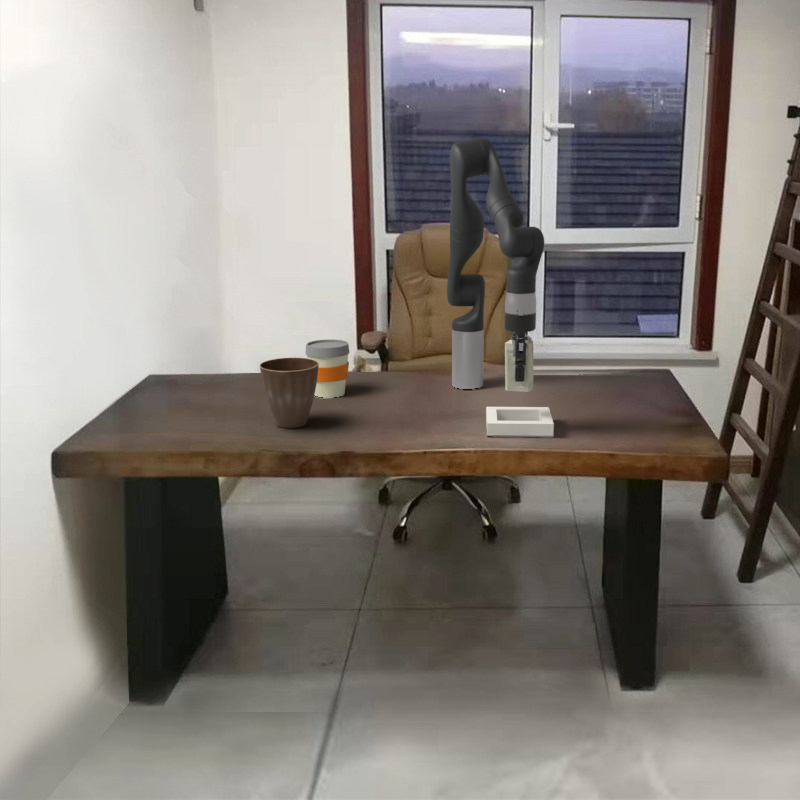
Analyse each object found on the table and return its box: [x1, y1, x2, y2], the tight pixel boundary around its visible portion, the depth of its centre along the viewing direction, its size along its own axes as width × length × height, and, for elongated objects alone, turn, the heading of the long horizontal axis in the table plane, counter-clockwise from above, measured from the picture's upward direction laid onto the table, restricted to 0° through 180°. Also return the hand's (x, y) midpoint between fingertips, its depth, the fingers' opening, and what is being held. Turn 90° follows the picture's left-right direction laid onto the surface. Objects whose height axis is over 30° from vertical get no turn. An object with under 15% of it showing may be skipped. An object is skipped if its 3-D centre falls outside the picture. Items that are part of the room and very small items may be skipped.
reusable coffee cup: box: [305, 339, 350, 399], centre depth 260 cm, size 13×12×15 cm
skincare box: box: [504, 339, 534, 393], centre depth 223 cm, size 6×4×12 cm
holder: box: [485, 406, 555, 439], centre depth 226 cm, size 15×16×4 cm
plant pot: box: [259, 357, 319, 429], centre depth 231 cm, size 15×15×16 cm
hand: (519, 378), depth 223 cm, fingers closed on skincare box, 5 cm apart
